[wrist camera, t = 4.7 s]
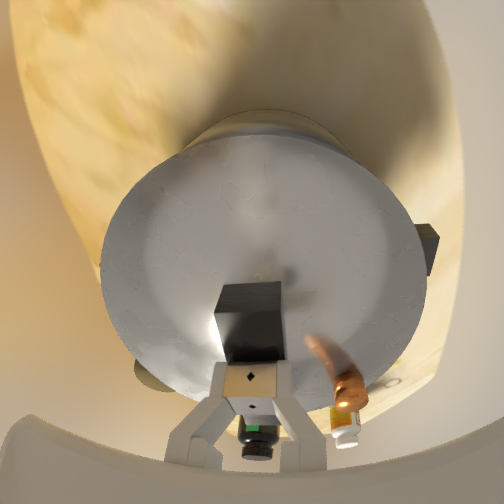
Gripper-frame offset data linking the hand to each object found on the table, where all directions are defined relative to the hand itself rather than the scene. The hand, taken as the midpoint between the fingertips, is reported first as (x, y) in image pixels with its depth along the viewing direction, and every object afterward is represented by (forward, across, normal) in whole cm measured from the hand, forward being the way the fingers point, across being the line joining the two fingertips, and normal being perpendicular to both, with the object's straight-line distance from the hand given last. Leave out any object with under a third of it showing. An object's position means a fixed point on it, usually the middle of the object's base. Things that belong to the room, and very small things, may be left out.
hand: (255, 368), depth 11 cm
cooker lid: (+4, 0, 0) cm, 4 cm away
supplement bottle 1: (+16, +5, +36) cm, 40 cm away
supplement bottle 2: (+16, -10, +40) cm, 44 cm away
